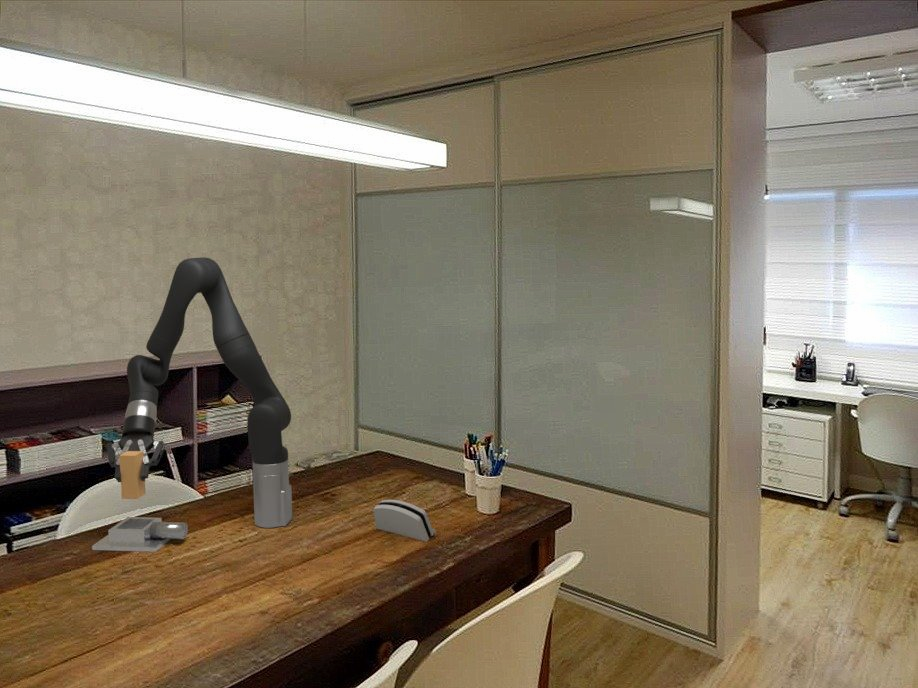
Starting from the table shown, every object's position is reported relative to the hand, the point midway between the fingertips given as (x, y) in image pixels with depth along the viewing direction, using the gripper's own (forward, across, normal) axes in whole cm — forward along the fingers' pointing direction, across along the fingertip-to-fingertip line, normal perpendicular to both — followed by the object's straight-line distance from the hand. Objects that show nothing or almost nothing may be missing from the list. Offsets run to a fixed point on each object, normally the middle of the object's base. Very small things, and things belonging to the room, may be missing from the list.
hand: (131, 479), depth 175 cm
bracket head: (+11, +2, +12) cm, 17 cm away
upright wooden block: (+2, 0, +5) cm, 5 cm away
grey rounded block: (+16, +67, +7) cm, 69 cm away
